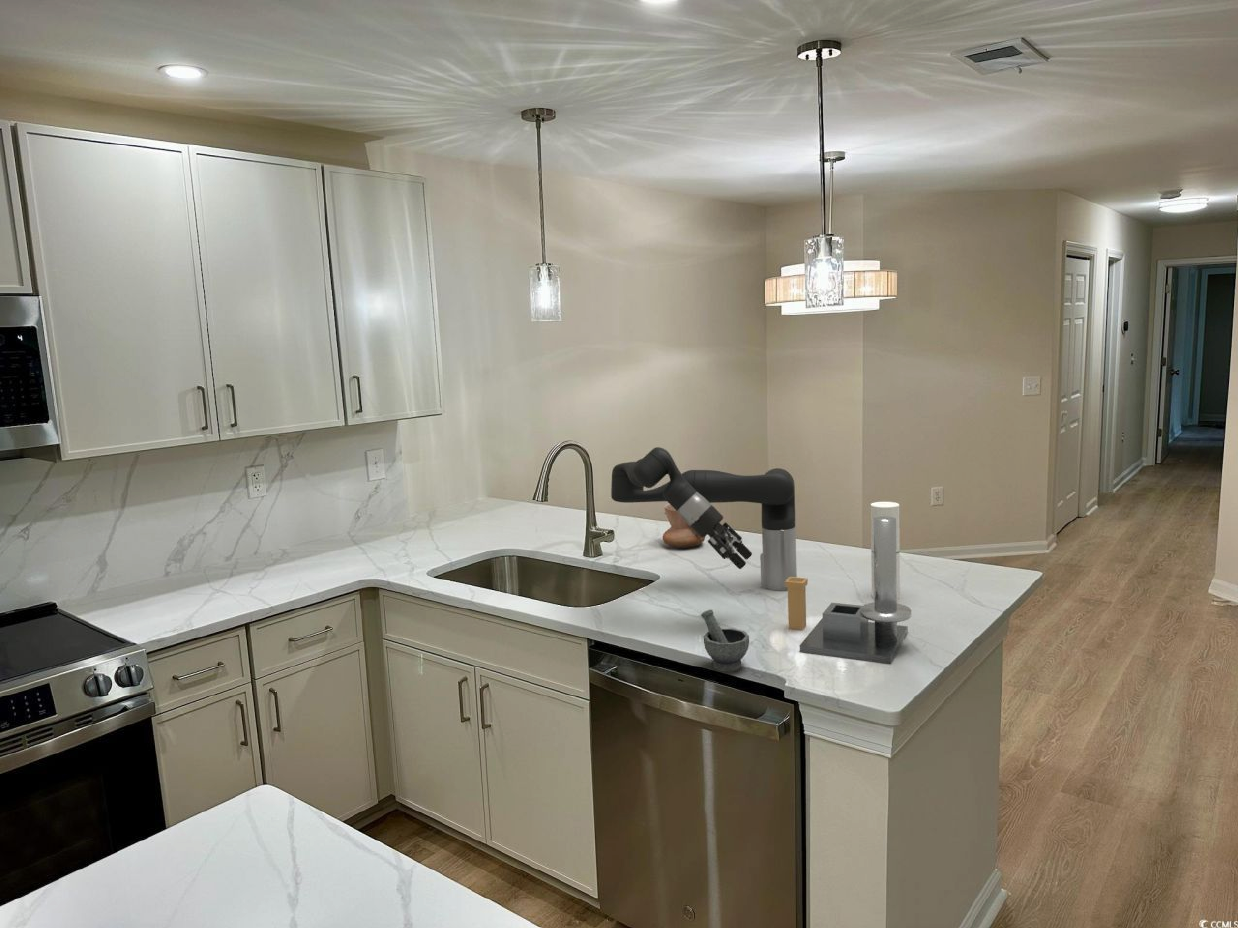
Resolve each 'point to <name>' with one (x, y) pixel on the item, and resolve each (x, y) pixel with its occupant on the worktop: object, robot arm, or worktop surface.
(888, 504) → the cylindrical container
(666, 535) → the ceramic jug
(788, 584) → the orange square peg
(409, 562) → the worktop surface
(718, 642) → the mortar and pestle
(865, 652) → the grey fixture with cylinder
